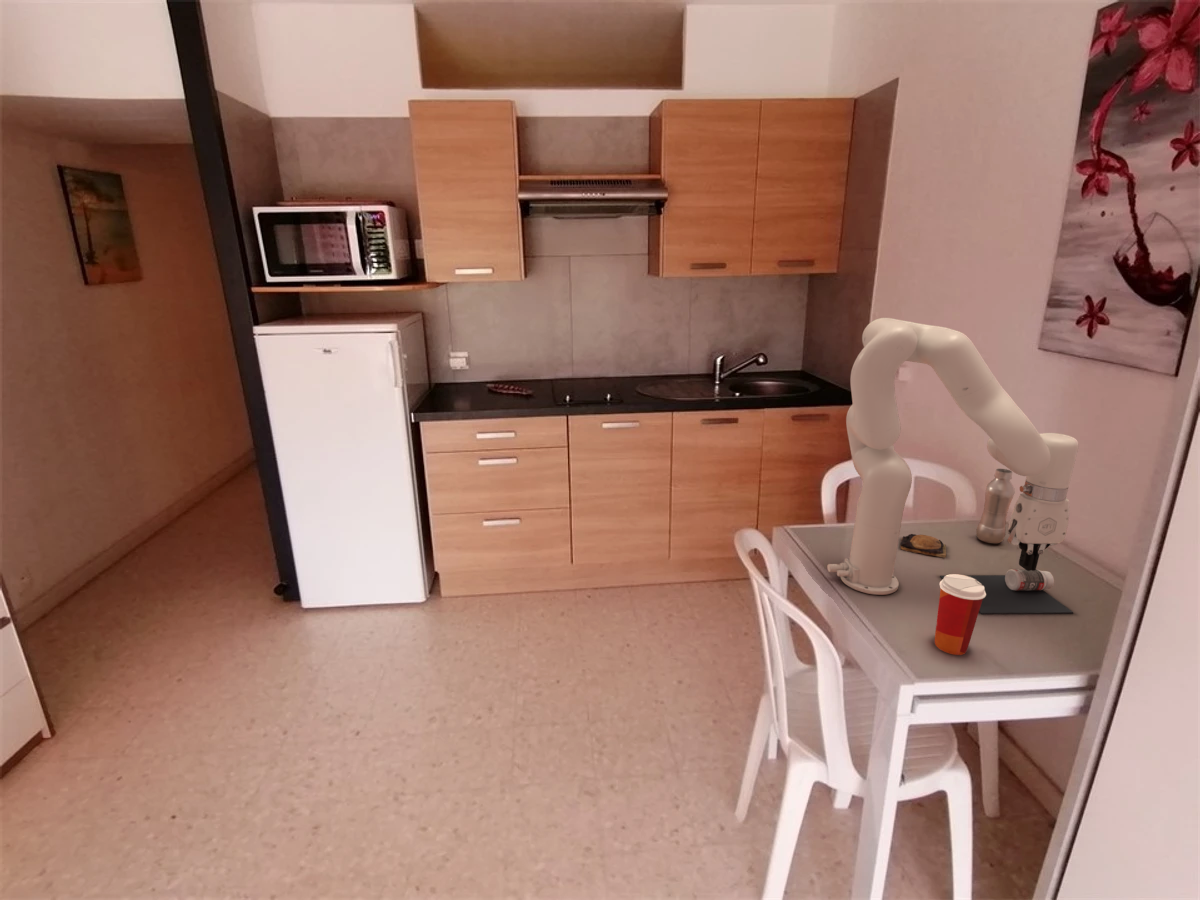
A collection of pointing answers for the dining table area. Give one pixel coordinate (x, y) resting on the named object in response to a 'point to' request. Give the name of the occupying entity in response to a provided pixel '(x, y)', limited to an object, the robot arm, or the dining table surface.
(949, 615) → the paper cup
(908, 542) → the bread roll
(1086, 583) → the dining table surface
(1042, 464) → the robot arm
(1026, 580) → the pill bottle
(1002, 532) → the plastic bottle
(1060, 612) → the mat
